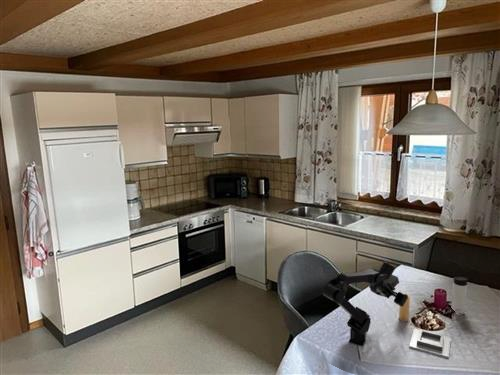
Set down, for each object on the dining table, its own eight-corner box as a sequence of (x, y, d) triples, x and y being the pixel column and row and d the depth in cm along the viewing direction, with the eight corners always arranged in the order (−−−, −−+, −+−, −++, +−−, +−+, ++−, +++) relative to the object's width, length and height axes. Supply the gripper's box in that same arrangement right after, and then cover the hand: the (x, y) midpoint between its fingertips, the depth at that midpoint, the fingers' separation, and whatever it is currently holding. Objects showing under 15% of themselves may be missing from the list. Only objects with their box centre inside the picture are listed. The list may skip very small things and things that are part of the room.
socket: (409, 347, 169) (409, 342, 168) (414, 329, 182) (414, 324, 182) (448, 358, 161) (449, 352, 160) (450, 339, 174) (451, 333, 174)
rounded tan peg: (398, 319, 191) (399, 296, 189) (399, 315, 195) (401, 293, 192) (407, 322, 189) (409, 298, 186) (409, 317, 193) (410, 295, 190)
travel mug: (458, 316, 193) (461, 281, 189) (448, 310, 199) (451, 275, 195) (467, 314, 194) (471, 279, 190) (457, 308, 200) (460, 274, 196)
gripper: (406, 279, 172) (420, 294, 180) (374, 265, 188) (388, 280, 195) (394, 299, 170) (409, 313, 177) (363, 284, 185) (377, 298, 193)
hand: (395, 300), depth 186 cm, fingers open, 9 cm apart
